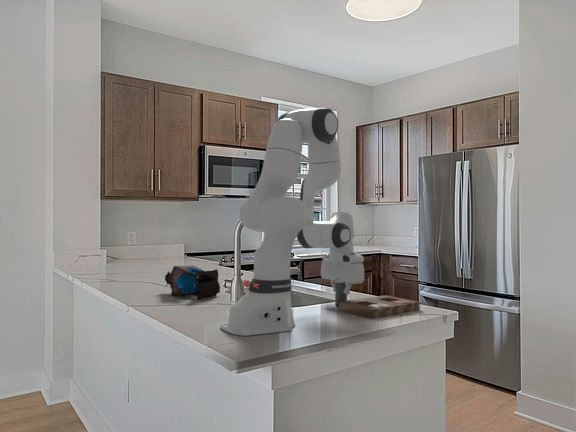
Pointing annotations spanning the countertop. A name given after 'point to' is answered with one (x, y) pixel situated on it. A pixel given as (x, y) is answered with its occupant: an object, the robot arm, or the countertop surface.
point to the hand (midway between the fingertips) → (341, 293)
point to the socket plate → (379, 306)
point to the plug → (339, 292)
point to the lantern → (193, 282)
